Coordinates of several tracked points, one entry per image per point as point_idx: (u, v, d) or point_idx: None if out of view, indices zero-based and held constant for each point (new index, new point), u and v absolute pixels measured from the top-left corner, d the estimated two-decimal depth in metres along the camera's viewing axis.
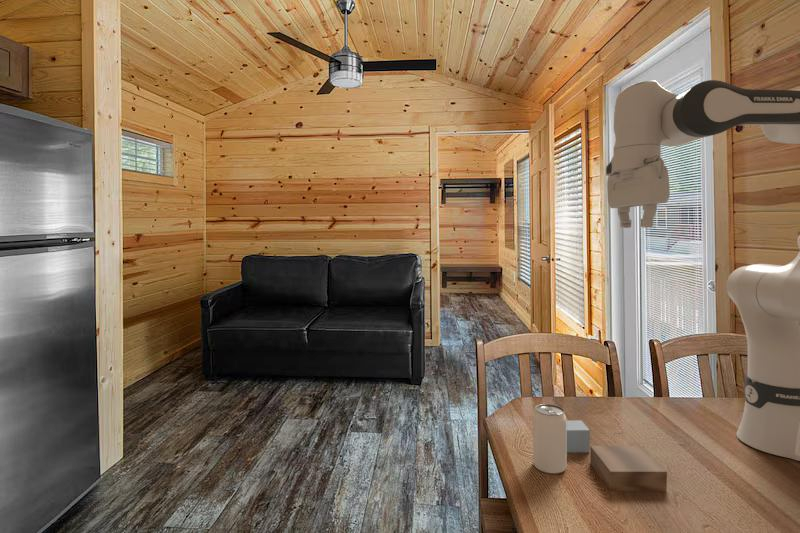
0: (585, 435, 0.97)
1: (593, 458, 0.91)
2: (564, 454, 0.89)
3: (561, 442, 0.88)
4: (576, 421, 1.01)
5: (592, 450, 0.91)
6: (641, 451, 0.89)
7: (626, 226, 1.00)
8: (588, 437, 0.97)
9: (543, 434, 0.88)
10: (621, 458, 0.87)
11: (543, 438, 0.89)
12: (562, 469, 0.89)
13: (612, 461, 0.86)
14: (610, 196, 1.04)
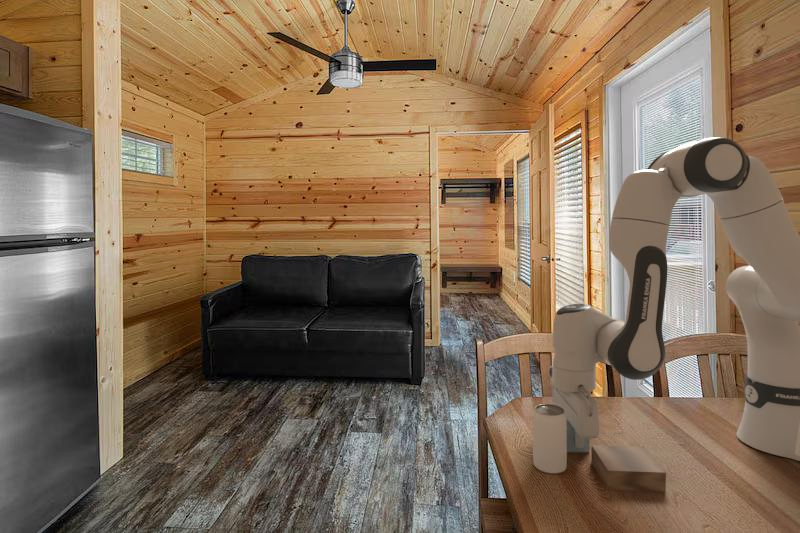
0: None
1: (593, 457, 0.91)
2: (564, 454, 0.89)
3: (561, 442, 0.88)
4: None
5: (593, 449, 0.91)
6: (642, 451, 0.89)
7: None
8: None
9: (543, 434, 0.88)
10: (621, 458, 0.87)
11: (543, 438, 0.89)
12: (562, 469, 0.89)
13: (611, 460, 0.86)
14: (554, 393, 1.07)
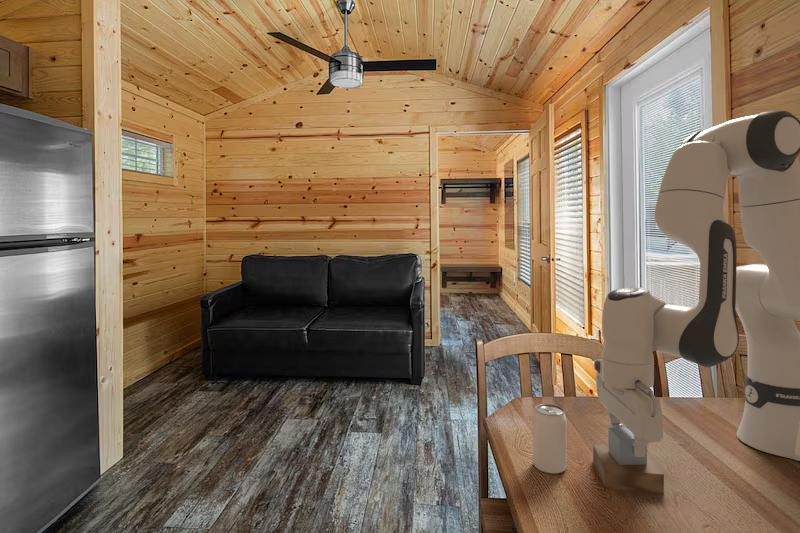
0: None
1: (594, 456, 0.91)
2: (564, 454, 0.89)
3: (561, 442, 0.88)
4: None
5: (594, 448, 0.92)
6: None
7: None
8: None
9: (543, 434, 0.88)
10: None
11: (543, 438, 0.89)
12: (562, 469, 0.89)
13: (609, 460, 0.86)
14: (599, 390, 0.95)
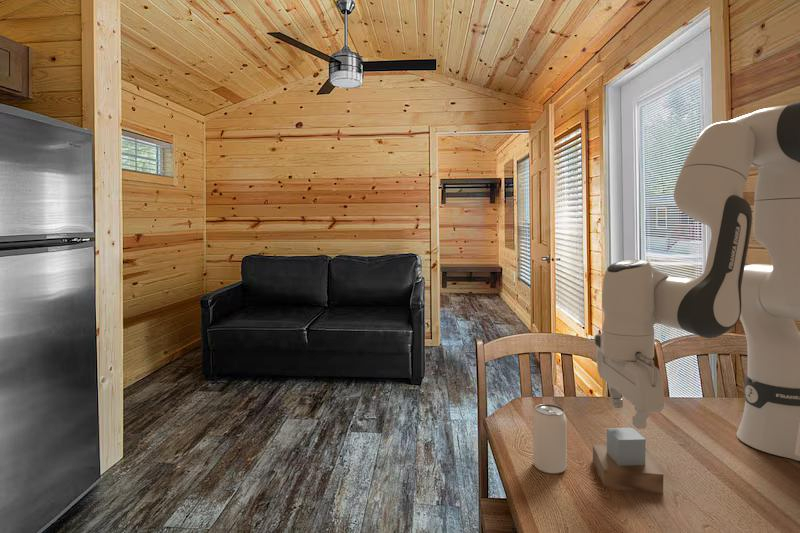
0: (640, 445, 0.84)
1: (594, 456, 0.91)
2: (564, 454, 0.89)
3: (561, 442, 0.88)
4: (626, 429, 0.88)
5: (594, 449, 0.92)
6: None
7: (617, 406, 0.90)
8: (644, 447, 0.84)
9: (542, 434, 0.88)
10: None
11: (543, 438, 0.89)
12: (562, 469, 0.89)
13: (609, 460, 0.86)
14: (600, 366, 0.94)
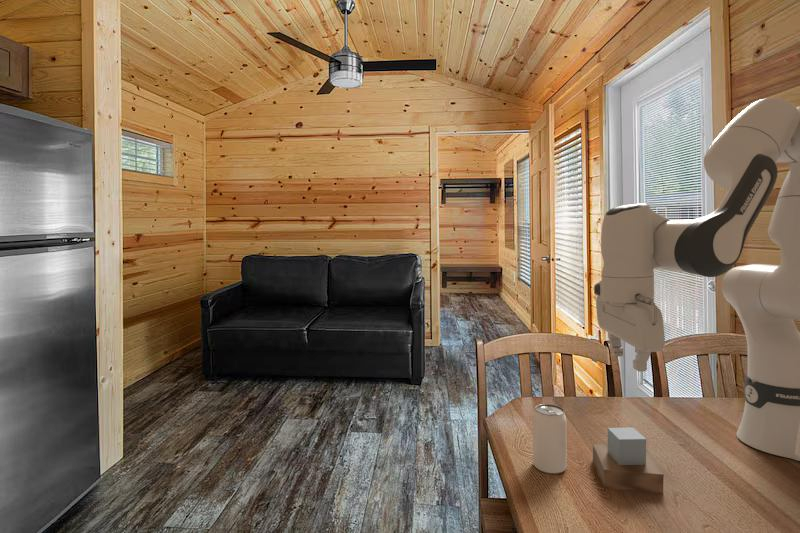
0: (640, 445, 0.84)
1: (594, 456, 0.91)
2: (564, 454, 0.89)
3: (561, 442, 0.88)
4: (627, 429, 0.88)
5: (594, 448, 0.92)
6: None
7: (618, 355, 0.90)
8: (644, 447, 0.84)
9: (542, 434, 0.88)
10: None
11: (543, 438, 0.89)
12: (562, 469, 0.89)
13: (609, 460, 0.86)
14: (599, 316, 0.94)
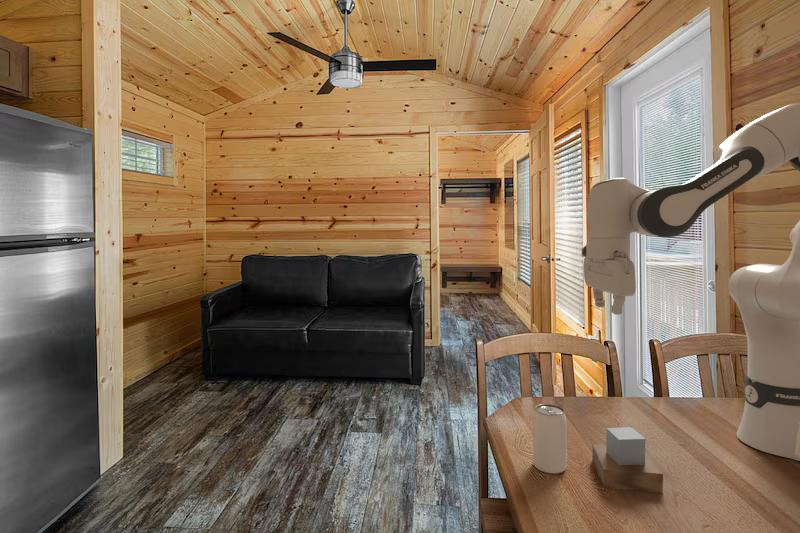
0: (640, 445, 0.84)
1: (594, 456, 0.92)
2: (564, 454, 0.89)
3: (561, 442, 0.88)
4: (626, 428, 0.88)
5: (593, 448, 0.92)
6: None
7: (600, 306, 1.08)
8: (643, 446, 0.84)
9: (542, 434, 0.88)
10: None
11: (543, 438, 0.89)
12: (562, 469, 0.89)
13: (609, 459, 0.87)
14: (586, 275, 1.12)
